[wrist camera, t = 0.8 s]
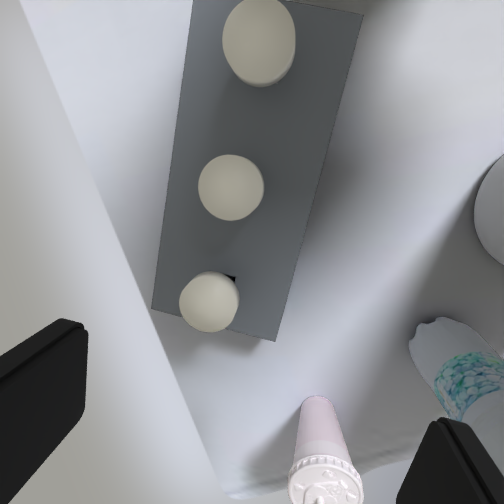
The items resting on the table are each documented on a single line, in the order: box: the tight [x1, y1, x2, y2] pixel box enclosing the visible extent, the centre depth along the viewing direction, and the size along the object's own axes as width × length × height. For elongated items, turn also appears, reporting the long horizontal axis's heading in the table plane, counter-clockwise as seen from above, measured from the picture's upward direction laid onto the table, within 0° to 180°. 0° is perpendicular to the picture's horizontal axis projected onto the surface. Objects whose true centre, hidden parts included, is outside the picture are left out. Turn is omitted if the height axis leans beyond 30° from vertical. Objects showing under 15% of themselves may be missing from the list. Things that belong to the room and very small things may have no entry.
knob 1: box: [179, 271, 240, 332], centre depth 27 cm, size 4×4×6 cm
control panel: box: [151, 0, 363, 342], centre depth 28 cm, size 26×12×5 cm, turn 168°
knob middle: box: [198, 155, 264, 221], centre depth 24 cm, size 4×4×6 cm
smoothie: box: [287, 396, 364, 504], centre depth 29 cm, size 6×6×14 cm
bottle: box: [409, 317, 504, 476], centre depth 22 cm, size 7×7×20 cm
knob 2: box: [222, 0, 295, 87], centre depth 22 cm, size 4×4×6 cm
